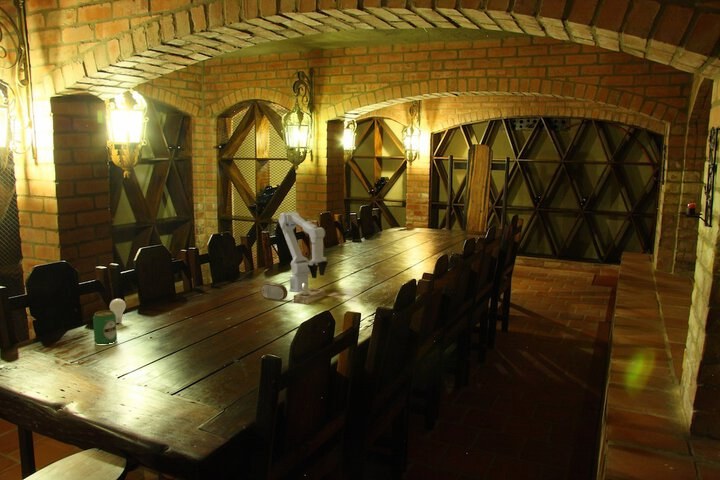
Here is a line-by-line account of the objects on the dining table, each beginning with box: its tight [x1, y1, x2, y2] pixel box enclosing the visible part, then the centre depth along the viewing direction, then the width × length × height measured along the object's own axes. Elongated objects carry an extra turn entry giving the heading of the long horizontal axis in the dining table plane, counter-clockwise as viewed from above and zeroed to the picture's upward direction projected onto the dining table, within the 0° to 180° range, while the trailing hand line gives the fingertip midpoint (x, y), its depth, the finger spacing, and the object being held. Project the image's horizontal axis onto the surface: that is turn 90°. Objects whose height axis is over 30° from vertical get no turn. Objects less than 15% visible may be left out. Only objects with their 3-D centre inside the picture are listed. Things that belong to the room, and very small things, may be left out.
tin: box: [260, 281, 288, 301], centre depth 280 cm, size 15×3×8 cm, turn 65°
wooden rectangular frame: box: [293, 287, 326, 305], centre depth 281 cm, size 8×18×4 cm, turn 154°
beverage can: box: [92, 309, 118, 344], centre depth 214 cm, size 8×8×12 cm
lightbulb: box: [109, 298, 127, 324], centre depth 237 cm, size 6×6×11 cm
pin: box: [302, 282, 309, 296], centre depth 276 cm, size 3×3×10 cm
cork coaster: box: [326, 292, 348, 299], centre depth 289 cm, size 8×8×1 cm
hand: (318, 276), depth 287 cm, fingers open, 7 cm apart
